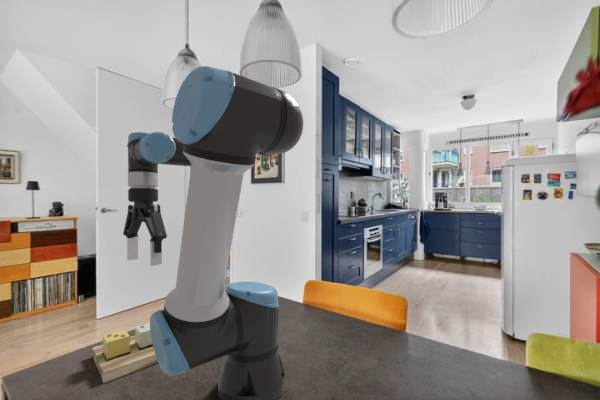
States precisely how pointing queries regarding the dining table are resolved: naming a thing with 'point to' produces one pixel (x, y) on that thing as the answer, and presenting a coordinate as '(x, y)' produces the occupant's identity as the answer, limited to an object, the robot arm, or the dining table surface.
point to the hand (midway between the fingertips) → (143, 262)
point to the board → (123, 361)
